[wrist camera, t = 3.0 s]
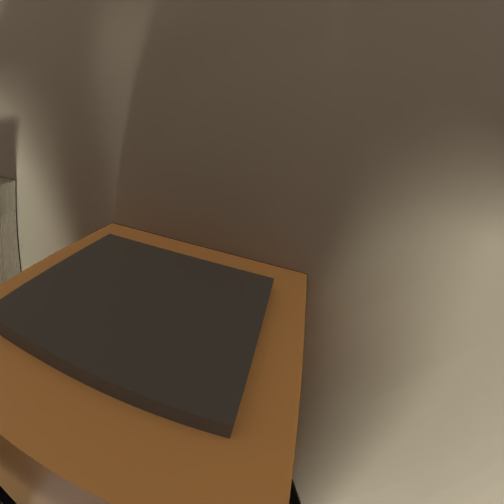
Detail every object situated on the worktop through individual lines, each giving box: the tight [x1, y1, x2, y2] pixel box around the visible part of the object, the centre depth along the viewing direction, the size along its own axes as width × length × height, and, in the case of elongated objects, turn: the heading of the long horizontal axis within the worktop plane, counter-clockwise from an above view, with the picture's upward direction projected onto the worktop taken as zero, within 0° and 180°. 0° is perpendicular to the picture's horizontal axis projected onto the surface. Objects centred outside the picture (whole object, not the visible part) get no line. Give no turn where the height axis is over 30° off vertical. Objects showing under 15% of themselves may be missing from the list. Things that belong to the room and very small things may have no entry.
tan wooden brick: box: [0, 223, 307, 504], centre depth 6 cm, size 5×9×6 cm, turn 169°
